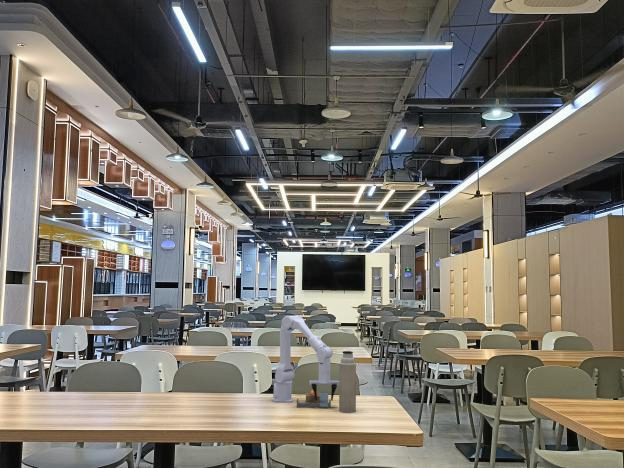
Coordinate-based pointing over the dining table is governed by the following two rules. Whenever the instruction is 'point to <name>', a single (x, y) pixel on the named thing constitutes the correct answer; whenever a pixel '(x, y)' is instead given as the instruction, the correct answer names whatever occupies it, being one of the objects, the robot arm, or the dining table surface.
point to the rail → (311, 404)
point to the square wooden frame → (312, 397)
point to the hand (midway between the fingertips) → (323, 400)
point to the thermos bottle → (347, 383)
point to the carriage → (323, 399)
